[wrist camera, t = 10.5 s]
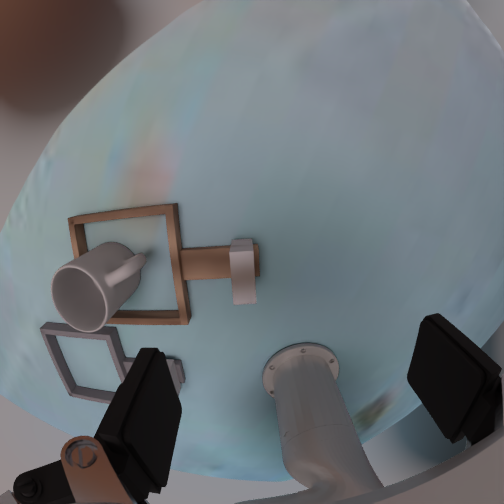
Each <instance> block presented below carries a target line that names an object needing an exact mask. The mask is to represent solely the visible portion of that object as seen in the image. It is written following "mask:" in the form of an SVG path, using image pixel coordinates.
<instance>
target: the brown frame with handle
mask: <svg viewBox="0 0 504 504" xmlns="http://www.w3.org/2000/svg"><path fill="white" fill-rule="evenodd" d="M160 214H166V224H167V233H168V242H169V250H170V257H171V265H172V272H173V279H174V285H175V291H176V298H177V304H178V309H179V310H166V311H120V310H117V311H116V313H115V314H114V315H113V316H112V317H111V318H110V319H109V321H108V322H107V323H106V324H134V325H188V324H189V321H190V319H191V311H190V304H189V298H188V291H187V284H186V280H199V279H219V278H231V280H232V292H233V303H234V305H239V304H256V288H255V276H260V269H259V248H258V244H253V243H252V239H236V240H232V241H231V245H230V246H214V247H198V248H182V244H181V235H180V226H179V215H178V204H177V203H174V204H164V205H154V206H145V207H137V208H128V209H120V210H113V211H105V212H98V213H91V214H84V215H78V216H74V217H70V218H68V223H69V230H70V237H71V243H72V248H73V254H74V259H76V258H78V257H80V256H81V255H83V254H85V253H87V252H88V251H87V245H86V239H85V233H84V226H83V223H89V222H97V221H105V220H113V219H122V218H131V217H140V216H150V215H160Z"/></svg>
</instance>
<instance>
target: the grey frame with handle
mask: <svg viewBox="0 0 504 504" xmlns="http://www.w3.org/2000/svg"><path fill="white" fill-rule="evenodd" d="M40 331H41V334H42V336H43V339H44V341H45V344H46V346H47V349H48V351H49V354H50V356H51V358H52V360H53V363H54V365H55V367H56V369H57V371H58V373H59V376H60V378H61V380H62V382H63V384H64V386H65V388H66V390H67V391H68V393H69V395H70V396H72V397H77V398H81V399H86V400H91V401H96V402H101V403H107V404H110V403H111V401H112V399H113V397H114V395H115V392H108V391H102V390H96V389H90V388H85V387H79V386H76V384H75V382H74V380H73V378H72V375H71V373H70V371H69V369H68V367H67V364H66V362H65V360H64V357H63V355H62V353H61V350H60V348H59V345H58V343H57V340H56V337H55V335H58V336H66V337H75V338H86V339H97V340H106V341H107V344H108V347H109V350H110V353H111V356H112V359H113V362H114V364H115V367H116V370H117V372H118V375H119V377H120V380H121V382H122V383H123V381H124V379H125V377H126V375H127V373H128V372H129V370H130V368H131V366H132V364H133V362H134V360H135V358H125V355H124V352H123V349H122V346H121V343H120V340H119V336H118V333H117V330H116V327H102V328H101V329H99V330H98V331H95V332H82V331H79V330H77V329H75V328H73V327H72V326H70V325H69V324H60V323H49V322H46V323H45V324H44V325H43V326H42V327H41V328H40ZM166 360H167V364H168V367H169V370H170V373H171V376H172V380H173V383H174V386H175V389H176V392H177V394H178V397H179V393H180V389H181V385H180V383H184V382H185V375H184V371H183V367H182V363H181V360H174V359H166Z"/></svg>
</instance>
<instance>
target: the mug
mask: <svg viewBox="0 0 504 504" xmlns="http://www.w3.org/2000/svg"><path fill="white" fill-rule="evenodd" d="M145 263H146V257H145V255H144V254H143V253H139V254H137V255H135V256H134V254H133V253H132V252H131V251H130V250H129V249H128V248H127V247H125V246H124V245H122V244H119V243H115V242H107V243H104V244H101V245H99V246H97V247H96V248H94V249H92V250H91V251H89V252H87V253H85V254H83V255H81V256H80V257H78V258H76V259H74V260H72V261H71V262H69V263H67V264H65V265H63V266H62V267H60V268H59V269H58V270H57V271H56V272H55V274H54V276H53V278H52V282H51V295H52V300H53V303H54V305H55V308H56V309H57V311H58V313H59V314H60V316H61V317H62V318H63V319H64V321H65V322H67V323H68V324H69V325H70V326H72V327H73V328H75V329H77V330H79V331H82V332H95V331H98V330H99V329H101V328H102V327H103V326H104V325H105V324H106V323H107V322H108V321H109V319H110V318H111V317H112V316H113V315H114V314H115V313H116V311H117V310H118V309H119V308H120V307H121V306H122V305H123V303H124V302H125V301H126V300H127V299H128V298H129V297H130V296H131V295H132V294H133V293H134V292H135V290H136V289H137V287H138V285H139V282H140V269H141V268H142V267H143V266H144V265H145Z"/></svg>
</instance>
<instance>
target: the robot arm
mask: <svg viewBox="0 0 504 504" xmlns="http://www.w3.org/2000/svg"><path fill="white" fill-rule="evenodd" d="M501 369H502V368H501V367H500V366H499V365H498V364H496V363H495V362H494V361H493V360H492V359H491V358H490V357H489V356H488V355H487V354H486V353H485V352H483V351H482V350H481V349H480V348H479V347H478V346H477V345H476V344H475V343H473V342H472V341H471V340H470V339H469V338H468V337H467V336H465V335H464V334H463V333H462V332H461V331H460V330H458V329H457V328H456V327H455V326H454V325H453V324H451V323H450V322H449V321H448V320H447V319H445V318H444V317H443V316H442V315H440V314H439V313H436V314H432V315H428V316H426V317H425V318H424V319H423V321H422V322H421V324H420V328H419V332H418V336H417V341H416V345H415V349H414V353H413V356H412V360H411V364H410V367H409V371H408V374H407V380H408V383H409V384H410V386H411V387H412V389H413V390H414V391H415V393H416V394H417V396H418V397H419V399H420V400H421V402H422V403H423V405H424V406H425V407H426V409H427V410H428V412H429V413H430V415H431V416H432V418H433V419H434V421H435V423H436V424H437V426H438V427H439V429H440V430H441V432H442V433H443V435H444V436H445V438H447V439H450V441H451V442H452V443H455V442H457V441H459V440H461V439H463V437H464V436H466V437H467V442H466V448H465V451H463V452H461V453H459V454H458V455H456V456H454V457H452V458H450V459H449V460H447V461H445V462H443V463H441V464H439V465H437V466H435V467H433V468H430V469H428V470H426V471H424V472H422V473H419V474H417V475H415V476H412V477H410V478H408V479H405V480H403V481H400V482H398V483H395V484H392V485H389V486H386V487H384V486H383V484H382V483H381V481H380V480H379V478H378V476H377V475H376V473H375V472H374V470H373V468H372V466H371V465H370V463H369V460H368V458H367V456H366V454H365V452H364V450H363V447H362V445H361V442H360V440H359V437H358V435H357V432H356V430H355V427H354V425H353V422H352V420H351V417H350V415H349V413H348V410H347V408H346V405H345V403H344V400H343V398H342V396H341V393H340V391H339V388H338V386H337V383H336V379H337V377H338V374H339V364H338V361H337V359H336V357H335V355H334V354H333V352H332V351H330V350H329V349H328V348H326V347H324V346H322V345H318V344H313V343H302V344H296V345H292V346H289V347H287V348H284V349H283V350H281V351H279V352H278V353H276V354H275V355H274V356H272V358H271V359H270V360H269V361H268V362H267V364H266V365H265V367H264V370H263V376H262V379H263V385H264V388H265V390H266V391H267V393H268V394H269V395H270V396H271V397H273V398H275V403H276V411H277V418H278V426H279V433H280V441H281V448H282V456H283V462H284V465H285V468H286V470H287V471H288V473H289V474H290V475H291V476H292V477H293V478H294V479H295V480H297V481H298V482H299V483H301V484H303V485H304V486H306V487H307V488H309V489H307V490H304V491H300V492H298V493H293V494H288V495H282V496H276V497H271V498H263V499H255V500H248V501H242V502H238V503H235V504H504V374H503V375H502V377H501V378H500V377H499V374H500V372H501ZM181 414H182V407H181V403H180V400H179V397H178V394H177V392H176V389H175V386H174V383H173V380H172V376H171V373H170V370H169V367H168V364H167V360H166V357H165V354H164V353H163V352H160V351H159V349H158V348H141V349H140V351H139V353H138V354H137V356H136V358H135V360H134V362H133V364H132V366H131V368H130V370H129V372H128V373H127V375H126V377H125V379H124V381H123V383H121V384H120V385H119V387H118V389H117V391H116V393H115V395H114V397H113V399H112V401H111V403H110V405H109V407H108V409H107V411H106V413H105V415H104V417H103V419H102V421H101V423H100V425H99V427H98V429H97V432H96V434H95V436H94V438H93V437H89V436H78V437H74V438H72V439H70V440H69V441H68V442H66V443H65V445H64V446H63V448H62V450H61V460H59V461H56V462H53V463H51V464H48V465H45V466H42V467H39V468H37V469H33V470H30V471H27V472H24V473H22V474H20V475H19V476H18V477H17V478H16V480H15V482H14V486H13V491H14V492H11V491H10V490H8V491H6V492H5V493H3V494H2V495H1V496H0V504H149V502H148V501H147V500H146V499H147V498H148V495H149V492H152V493H158V494H160V492H161V487H165V486H166V485H167V481H168V476H169V471H170V466H171V461H172V456H173V451H174V447H175V442H176V437H177V432H178V428H179V423H180V419H181Z"/></svg>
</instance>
